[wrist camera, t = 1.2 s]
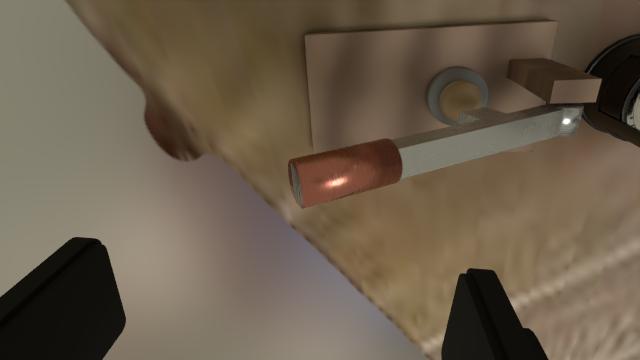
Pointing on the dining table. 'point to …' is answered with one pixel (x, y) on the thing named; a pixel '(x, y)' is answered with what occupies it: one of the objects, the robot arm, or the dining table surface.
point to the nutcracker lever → (425, 151)
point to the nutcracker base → (432, 78)
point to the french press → (636, 109)
